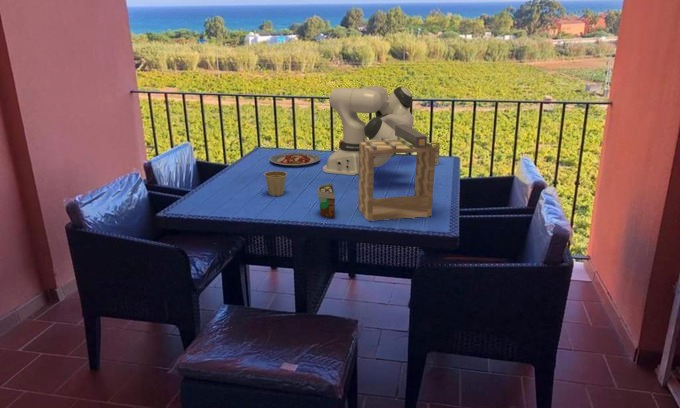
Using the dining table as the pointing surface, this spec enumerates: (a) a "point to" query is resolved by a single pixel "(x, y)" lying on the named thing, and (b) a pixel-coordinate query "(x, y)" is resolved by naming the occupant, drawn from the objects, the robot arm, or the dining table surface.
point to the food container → (327, 200)
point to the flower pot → (275, 182)
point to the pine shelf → (396, 205)
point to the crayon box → (437, 153)
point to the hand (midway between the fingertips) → (393, 139)
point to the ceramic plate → (294, 159)
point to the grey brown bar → (411, 136)
